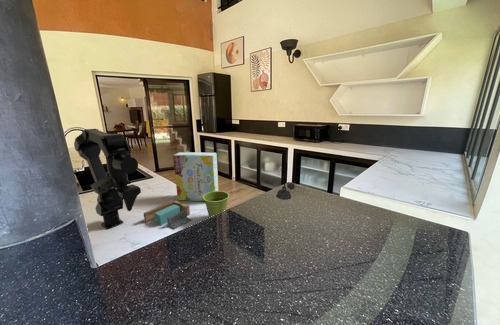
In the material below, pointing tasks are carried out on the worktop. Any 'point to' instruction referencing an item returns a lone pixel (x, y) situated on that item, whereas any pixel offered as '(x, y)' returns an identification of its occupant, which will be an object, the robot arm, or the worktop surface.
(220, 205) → the plant pot
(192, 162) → the snack box
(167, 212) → the teal rectangular block
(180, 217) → the bookend
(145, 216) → the tan wooden l-shaped piece
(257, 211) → the worktop surface
